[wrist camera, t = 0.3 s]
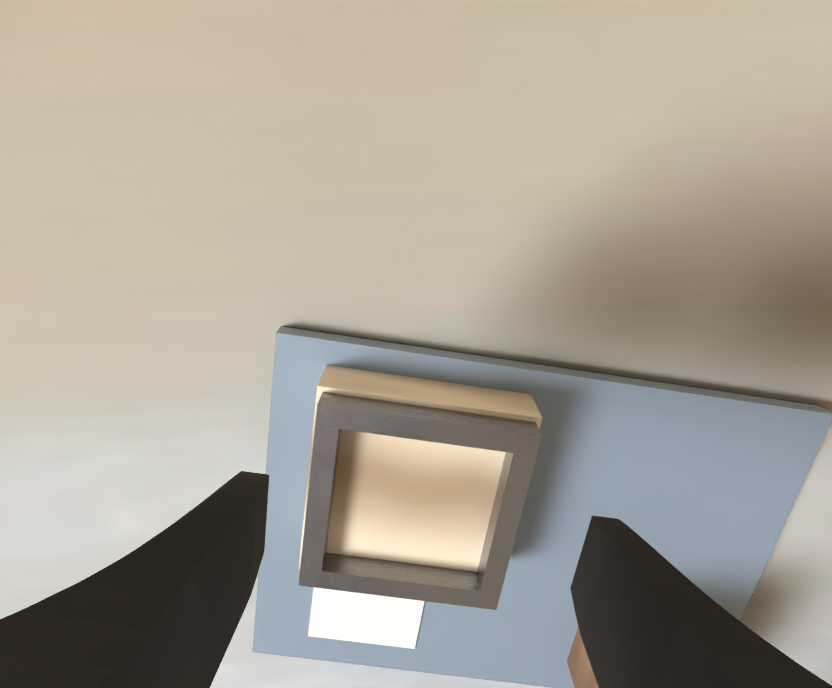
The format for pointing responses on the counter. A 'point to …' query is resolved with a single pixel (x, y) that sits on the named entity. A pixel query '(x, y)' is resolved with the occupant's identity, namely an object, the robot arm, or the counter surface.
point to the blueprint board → (497, 500)
